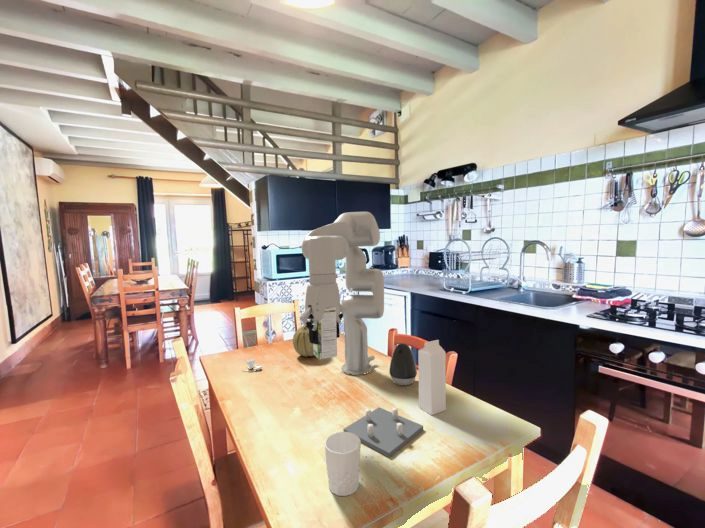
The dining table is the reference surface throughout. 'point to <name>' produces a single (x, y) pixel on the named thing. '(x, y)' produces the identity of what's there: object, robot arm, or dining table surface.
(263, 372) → the dining table surface
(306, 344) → the cantaloupe
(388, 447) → the standoff base
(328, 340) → the syrup box
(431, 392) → the milk
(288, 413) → the dining table surface
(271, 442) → the dining table surface
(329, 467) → the white cup
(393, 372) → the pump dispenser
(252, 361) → the pacifier
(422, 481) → the dining table surface
